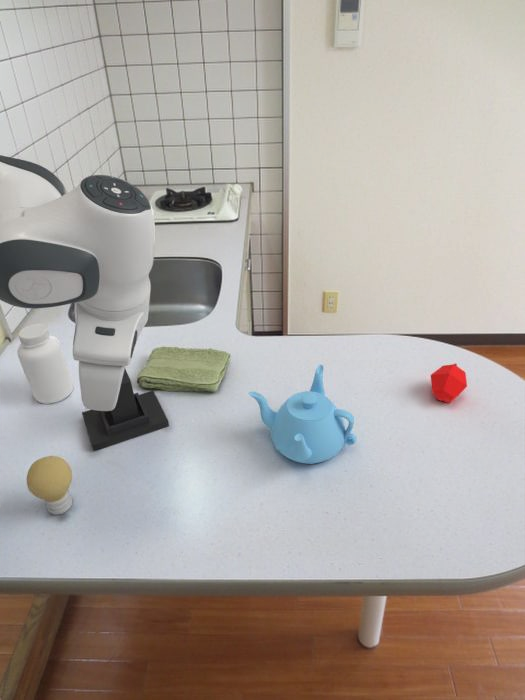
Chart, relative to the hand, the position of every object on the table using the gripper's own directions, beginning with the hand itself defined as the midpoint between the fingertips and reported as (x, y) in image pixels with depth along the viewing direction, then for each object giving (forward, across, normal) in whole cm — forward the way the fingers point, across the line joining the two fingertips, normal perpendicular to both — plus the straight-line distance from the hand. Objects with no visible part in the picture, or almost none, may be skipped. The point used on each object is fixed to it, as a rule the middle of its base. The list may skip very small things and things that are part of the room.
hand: (110, 376), depth 74 cm
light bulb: (+23, +9, -6) cm, 25 cm away
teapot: (+15, -2, +33) cm, 37 cm away
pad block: (+24, -10, +2) cm, 26 cm away
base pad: (+25, -10, +2) cm, 27 cm away
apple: (+10, -13, +62) cm, 64 cm away
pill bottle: (+31, -20, -14) cm, 40 cm away
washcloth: (+26, -24, +12) cm, 37 cm away
